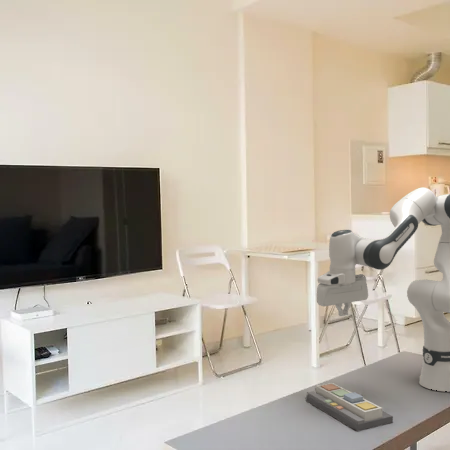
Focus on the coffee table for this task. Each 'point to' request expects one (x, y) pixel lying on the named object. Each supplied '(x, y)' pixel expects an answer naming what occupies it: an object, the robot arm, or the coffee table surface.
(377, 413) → the coloured button panel
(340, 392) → the key sage
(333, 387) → the key terracotta
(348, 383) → the coffee table surface
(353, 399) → the key slate
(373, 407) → the key ochre
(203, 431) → the coffee table surface
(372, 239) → the robot arm
